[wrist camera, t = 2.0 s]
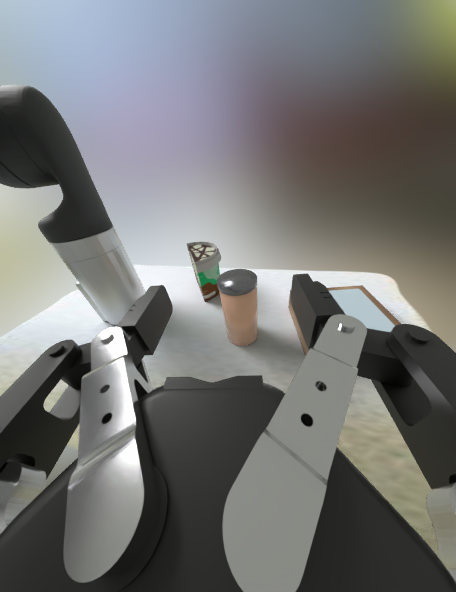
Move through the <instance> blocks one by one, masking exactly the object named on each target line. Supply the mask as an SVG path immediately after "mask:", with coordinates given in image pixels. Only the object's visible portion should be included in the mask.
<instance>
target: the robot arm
mask: <svg viewBox="0 0 456 592" xmlns="http://www.w3.org/2000/svg"><path fill="white" fill-rule="evenodd" d="M0 183H1V184H3V185H7V186H10V187H15V188H36V187H42V186H50V185H57V184H59V185H60V187H61V189H62V192H63V200H62V202H61V204H60V206H59V207H58V208H57V209H56V210H55V211H54V212H52V213H51V214H49V215H48V216H46V217H45V218H43V219H42V220H40V221H39V223H38V226H39V229H40V231H41V232H42V234H43V235H44V236H45V237H46V239H47V240H48V242H49V243H50V244H51V245H52V247H53V248H54V250H55V251H56V252H57V253H58V255H59V256H60V258H61V259H62V260H63V261H64V263H65V264H66V265H67V267H68V268H69V269H70V271H71V272H72V274H73V275H74V276H75V278H76V279H77V280H78V281H77V282H76V286H77V287H78V289H79V290H80V291H81V292H82V294H83V295H84V296H85V298H86V299H87V300H88V302H89V303H90V304H91V306H92V307H93V308H94V309H95V311H96V312H97V313H98V315H99V316H100V317H101V319H102V320H103V321H108V322H109V323H110V324H112V325H117V326H116V327H112V328H109V329H106V330H104V331H102V332H101V333H99V334H98V335H97V336H96V337H95V338H94V339H93V340H92V342H91V343H87V344H84V345H80V346H78V345H77V344H76V343H75V342H74V341H73V340H65V341H61V342H59V343H57V344H55V345H53V346H52V347H50V348H49V349H47V350H46V351H45V352H44V353H43V354H42V355H41V356H40V357H39V358H38V359H37V360H36V361H35V362H34V363H33V364H32V365H31V366H30V367H29V368H28V369H27V370H26V371H25V372H24V373H23V374H22V375H21V376H20V377H19V378H18V379H17V380H16V381H15V382H14V383H13V384H12V385H11V386H10V387H9V388H8V389H7V390H6V391H5V392H4V393H3V394H2V395H1V396H0V592H456V353H455V352H454V351H453V350H452V349H451V348H450V347H449V346H447V345H446V344H445V343H444V342H443V341H442V340H441V339H440V338H439V337H438V336H436V335H435V334H434V333H432V332H430V331H428V330H426V329H424V328H421V327H418V326H415V325H410V324H399V325H396V326H395V327H393V329H392V331H391V332H386V331H380V330H375V329H369V328H366V326H365V325H364V324H363V323H362V322H361V321H360V320H358V319H356V318H354V317H352V316H349V315H346V314H345V313H344V311H343V310H342V309H341V307H340V306H339V304H338V303H337V302H336V300H335V299H334V298H333V296H332V295H331V293H329V291H328V289H327V288H326V286H324V285H323V284H321V283H320V282H318V281H314V282H313V281H312V279H311V278H310V276H309V275H308V274H296V275H293V280H292V289H291V305H292V308H293V310H294V313H295V316H296V318H297V321H298V323H299V326H300V329H301V331H302V334H303V337H304V339H305V342H306V344H307V347H308V350H309V351H308V353H307V355H306V357H305V359H304V360H303V362H302V364H301V366H300V368H299V370H298V371H297V373H296V375H295V377H294V379H293V381H292V382H291V384H290V386H289V388H288V390H287V392H286V394H285V393H284V392H282V391H281V390H279V389H277V388H276V387H273V386H271V385H268V384H265V383H263V380H262V376H236V377H232V378H228V379H225V380H221V381H218V382H214V383H210V382H206V381H203V380H199V379H195V378H191V377H167V378H166V381H165V384H164V386H161V387H159V388H156V389H154V390H153V388H152V385H151V382H150V379H149V376H148V373H147V370H146V366H145V363H144V361H143V360H142V358H143V356H144V355H153V353H154V351H155V349H156V347H157V345H158V343H159V340H160V338H161V336H162V334H163V332H164V329H165V327H166V325H167V323H168V321H169V319H170V316H171V314H172V310H173V308H172V303H171V301H170V298H169V296H168V293H167V291H166V289H165V287H164V286H163V285H160V286H151V287H150V288H149V289H148V290H147V292H145V289H144V287H143V285H142V283H141V281H140V279H139V277H138V275H137V273H136V271H135V269H134V267H133V265H132V263H131V261H130V259H129V257H128V255H127V253H126V251H125V249H124V247H123V245H122V243H121V241H120V239H119V237H118V235H117V233H116V231H115V229H114V227H113V225H112V223H111V221H110V219H109V217H108V215H107V212H106V210H105V207H104V205H103V203H102V200H101V199H100V196H99V194H98V192H97V190H96V188H95V186H94V184H93V182H92V179H91V177H90V175H89V172H88V170H87V168H86V165H85V163H84V160H83V158H82V156H81V153H80V151H79V149H78V147H77V145H76V142H75V141H74V138H73V136H72V134H71V132H70V130H69V129H68V127H67V125H66V123H65V121H64V120H63V118H62V116H61V115H60V113H59V112H58V111H57V109H56V108H55V107H54V105H53V104H52V103H51V102H50V101H49V99H48V98H46V96H44V95H43V94H42V93H41V92H40V91H38V90H37V89H35V88H33V87H30V86H26V85H3V86H0ZM357 376H361V377H365V378H369V379H371V380H372V382H373V384H374V386H375V388H376V389H377V391H378V393H379V395H380V397H381V399H382V400H383V402H384V404H385V406H386V408H387V409H388V411H389V413H390V415H391V417H392V418H393V420H394V422H395V424H396V426H397V427H398V429H399V431H400V433H401V435H402V437H403V438H404V440H405V442H406V444H407V446H408V447H409V449H410V451H411V453H412V455H413V456H414V458H415V460H416V462H417V464H418V465H419V467H420V469H421V471H422V473H423V475H424V476H425V478H426V480H427V482H428V484H429V485H430V487H431V489H432V490H431V491H430V492H429V493H428V495H427V499H426V505H427V511H428V514H429V517H430V520H431V522H432V526H433V528H434V530H435V533H436V537H437V544H438V547H437V554H435V552H434V551H433V550H432V549H431V548H430V546H429V545H428V544H427V543H426V542H425V541H424V540H423V539H422V537H421V536H420V535H419V534H418V533H417V532H416V531H415V530H414V529H413V528H412V527H411V526H410V525H409V523H408V522H407V521H406V520H405V519H404V518H403V517H402V516H401V515H400V514H399V513H398V512H397V511H396V510H395V508H394V507H393V506H392V505H391V504H390V503H389V502H388V501H387V500H386V499H385V498H384V497H383V496H382V495H381V494H380V492H379V491H378V490H377V489H376V488H375V487H374V486H373V485H372V484H371V483H370V482H369V481H368V480H367V479H366V477H365V476H364V475H363V474H362V473H361V472H360V471H359V470H358V469H357V468H356V467H355V466H354V465H353V464H352V463H351V461H350V460H349V459H348V458H347V457H346V456H345V455H344V454H343V453H342V452H341V451H340V450H339V449H338V448H337V444H338V440H339V437H340V433H341V430H342V426H343V422H344V419H345V415H346V412H347V408H348V405H349V401H350V398H351V394H352V391H353V387H354V384H355V380H356V377H357ZM60 379H61V380H63V381H64V382H65V383H67V384H68V385H69V386H68V387H67V389H66V390H65V392H64V393H63V394H62V396H61V397H60V398H59V400H58V401H57V403H56V404H55V405H54V407H53V408H52V409H51V411H50V412H47V411H45V410H44V407H43V404H44V401H45V399H46V397H47V396H48V395H49V393H50V392H51V391H52V390H53V388H54V387H55V386H56V384H57V383H58V382H59V381H60ZM79 423H80V425H79V448H78V458H77V459H76V460H75V461H74V462H73V463H72V464H71V465H70V466H69V467H68V468H66V469H65V471H63V472H62V473H61V474H60V475H59V476H58V477H57V478H56V479H55V480H54V481H53V482H52V483H51V484H50V485H48V486H47V487H46V488H45V489H44V486H45V483H46V480H47V478H48V476H49V474H50V473H51V471H52V469H53V468H54V466H55V464H56V462H57V461H58V459H59V457H60V455H61V454H62V452H63V450H64V448H65V447H66V445H67V443H68V442H69V440H70V438H71V436H72V435H73V433H74V431H75V429H76V428H77V426H78V424H79Z"/></svg>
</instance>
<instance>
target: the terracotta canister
mask: <svg viewBox="0 0 456 592" xmlns="http://www.w3.org/2000/svg"><path fill="white" fill-rule="evenodd" d="M217 285H218V289H219V292H220V297H221V303H222V308H223V314H224V319H225V324H226V330H227V335H228V339H229V340H230V342H231V343H233V344H235V345H238V346H247V345H250V344H252V343H253V342H254V341H255V340H256V339H257V336H258V322H257V288H256V286H257V276H256V274H255V273H254V272H252V271H249V270H245V269H235V270H230V271H227V272H225V273H223V274H221V275H220V276H219V277H218V279H217Z"/></svg>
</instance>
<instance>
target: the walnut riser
mask: <svg viewBox="0 0 456 592" xmlns="http://www.w3.org/2000/svg"><path fill="white" fill-rule="evenodd" d="M327 289H328V291H329V293H331V295H332V296H333V298H334V299H335V300H336V302H337V303H338V304H339V306H340V307H341V309H342V310H343V311H344V313H345V314H346V315H349V316H352V317H354V318H356V319H358V320H360V321H361V322H362V323H363V324H364V325H365V326H366V328H369V329H375V330H380V331H386V332H391V331H392V329H393V327H395V326H396V325H399V324H401V323H400V322H399V321H398V320H397V319H396V318H395V317H394V316H393V315H392V314H391V313H390V312H389V311H388V310H387V309H386V308H385V307H384V306H383V305H382V304H380V303H379V302H378V301H377V300H376V299H375V298H374V297H373V296H372V295H371V294H370V293H369V292H368V291H367V290H366V289H365V288H364V287H363V286H348V287H334V288H327ZM289 310H290V313H291V316H292V319H293V322H294V325H295V327H296V330H297V333H298V336H299V339H300V342H301V345H302V348H303V350H304V353H305V356H306V355H307V353H308V351H309V350H308V347H307V344H306V342H305V339H304V337H303V334H302V331H301V329H300V326H299V323H298V321H297V318H296V316H295V313H294V310H293V308H292V305H291V291H290V299H289Z"/></svg>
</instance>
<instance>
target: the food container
mask: <svg viewBox="0 0 456 592" xmlns="http://www.w3.org/2000/svg"><path fill="white" fill-rule="evenodd" d="M187 247H188V251H189V254H190V257H191V261H192V265H193V268H194V272H195V276H196V279H197V283H198V285H199V288H200V291H201V293H202V296H203V298H204V301H205V302H206V301H208V300H211V299H212V298H214V297H216V296H217V295H218V294H219V289H218V285H217V279H218V277H219V276H220V273H219V261H220V260H221V255H220V252H219V250H218V248H217V247H216V246H215V244H213V243H209V242H194V243H187Z"/></svg>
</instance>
